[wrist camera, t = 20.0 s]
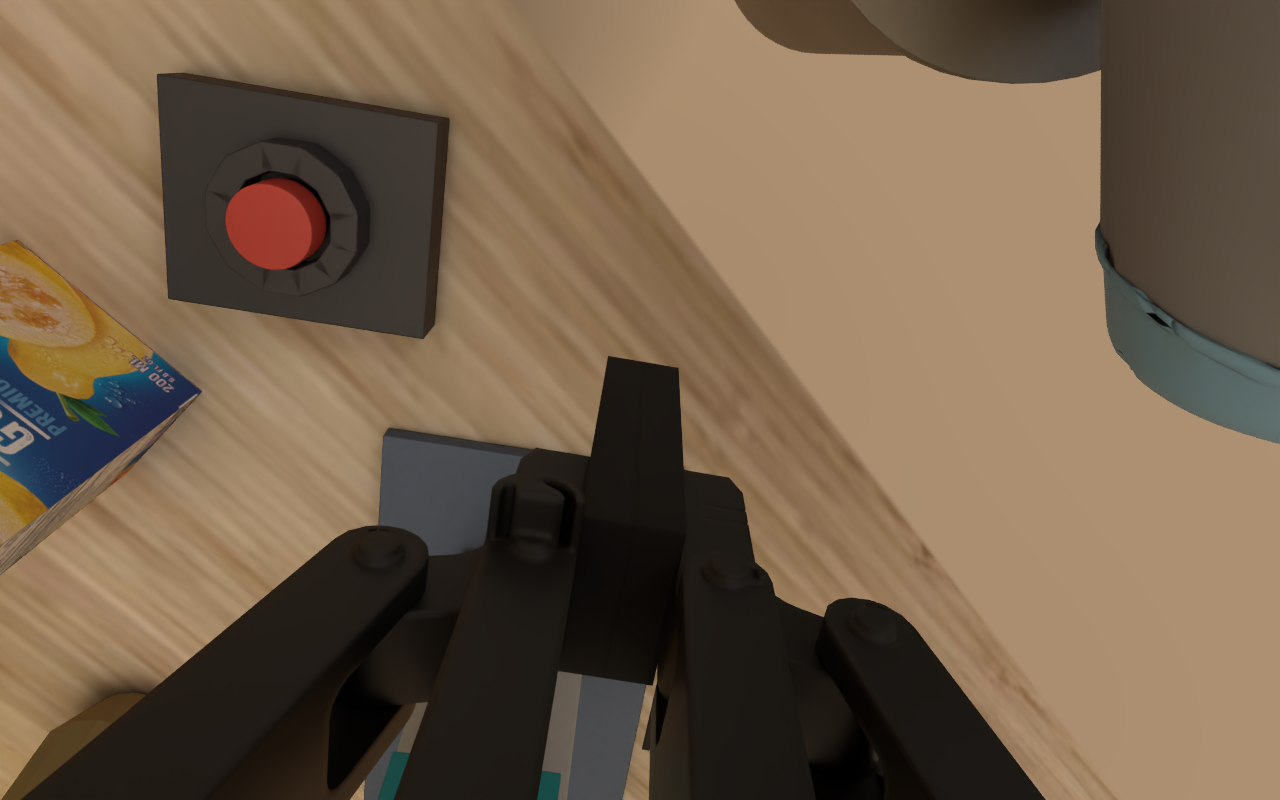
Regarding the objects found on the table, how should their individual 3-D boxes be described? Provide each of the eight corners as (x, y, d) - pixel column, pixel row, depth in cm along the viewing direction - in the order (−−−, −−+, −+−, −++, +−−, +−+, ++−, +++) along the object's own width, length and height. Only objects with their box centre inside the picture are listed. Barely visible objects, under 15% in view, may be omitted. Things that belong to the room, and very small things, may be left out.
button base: (449, 118, 39) (428, 125, 35) (434, 325, 42) (414, 352, 39) (182, 72, 38) (131, 74, 34) (190, 287, 42) (146, 310, 38)
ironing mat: (688, 473, 45) (689, 482, 44) (614, 824, 55) (614, 837, 54) (388, 427, 45) (382, 435, 44) (368, 792, 54) (363, 805, 53)
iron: (549, 933, 35) (575, 807, 29) (352, 909, 34) (343, 777, 29) (586, 627, 48) (609, 501, 43) (445, 607, 48) (450, 478, 42)
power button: (327, 185, 36) (312, 191, 35) (326, 267, 38) (311, 276, 36) (242, 171, 36) (223, 176, 35) (244, 253, 37) (225, 262, 36)
